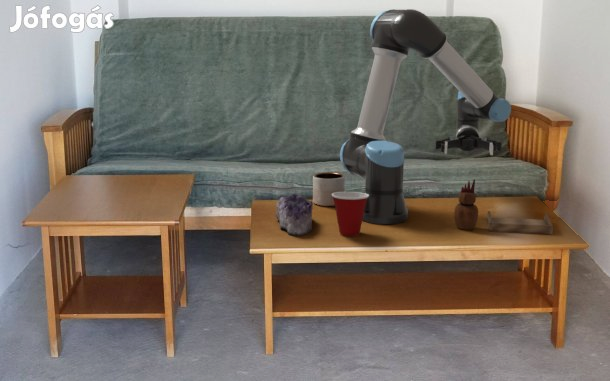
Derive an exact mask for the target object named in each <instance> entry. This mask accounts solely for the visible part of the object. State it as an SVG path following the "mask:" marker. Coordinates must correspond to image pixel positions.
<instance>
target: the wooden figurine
mask: <svg viewBox="0 0 610 381" xmlns="http://www.w3.org/2000/svg"><path fill="white" fill-rule="evenodd" d="M475 186H476V179H473V181H472V185H471V183H470V180H468V182H467V184H466V183H465V184H464V186H461V188H460V193H459V194H458V202H459V203H457V204H456V206H455V207H454V212H453V213H454V214H453V218H454V223H455V225H456V227H457V228H458V229H460V230H464V231H465V230H466V231H469V230H473V229H475V227H476V225H477V222H478V218H479V208H478V206H477V205H476V200H477V196H476V194H475Z"/></svg>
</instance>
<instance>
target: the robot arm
mask: <svg viewBox="0 0 610 381" xmlns="http://www.w3.org/2000/svg"><path fill="white" fill-rule="evenodd" d="M369 29H370V30H369V31H370V34H369V35H370V37H371V40H372V46H371V50H372V51H373V53H374V58H373V61H372V66H371V71H370V74H369V78H368V83H367V86H366V90H365V94H364V97H363V101H362V107H361V110H360V113H359V118H358V123H357V127H356V128H355V129H353V130H351V133H350V136H349V139H347V140H346V142H344V143H342V146H341V148H340V151H339V159H340V160H339V161H340V163H341V166H342V167H343V168H344V170H346V171H347V172H349V173H350V174H351V175H353V176H357V177H360V178H362V179H364V180H365V182H364V183H365V184H364V186H365V188H364V189H365V191H364V192H365V193H366V194H369V197H368V198H367V201H366V205H365V209H364V214H363V220H362V222H363V221H364V222H367V223H369V224H370V223H371V224H376V225H377V224H378V225H393V224H395V225H396V224H400V223H404V222H405V221H407V220H408V219H409V211H408V210H409V209H408V207H407V204H406V199H405V197H404V169H405V168H404V166H405V165H404V164H405V153H404V149H403V147H402V145H400V144H398V143H396V142H394V141H388V140H387V139H386V137H385V136H384V131H385V127H386V122H387V119H388V116H389V110H390V107H391V102H392V98H393V96H394V95H393V94H394V90H395V86H396V83H397V78H398V75H399V71H400V67H401V63H402V61H403V60H405V59H406V58H407V57H408V54H409V52H410V50H412V51H414V52H416V53H417V54H418V55H420V56H421V57H422V59H425V60H427V59H428V61H430V62H431V63H432V64H433V65H434V66H435V67H436V69H437V70H439V72H440V73H441V74H442V75H443V76H444V77H445V78H446V79H447V80H448V81H449V82H450V83H451V84H452V85H453V87H455V88H456V90H458V93H457V100H456V101H457V106H456V107H457V109H456V110H457V111H456V112H457V115H456V116H457V117H456V128H455V137H454V138H452V137H451V136H446V137H444V138H441V139H438V140H435V150H440V152H442V153H444V155H447V154H448V149H454V148H455V149H460V150H461V151H464V152H472V151H474V150H476V149H477V150H478V149H479V150H480V149H484V150H488V151H489V155H490V156H494V152H497V151H498V152H500V151H502V150H503V148H502V147H503V143H502V142H501V141H498V140H495V139H491V138H490V137H486V138H484V139H482V137H480V135H479V133H480V131H479V130H480V129H479V128H480V119H481V120H485V121H486V120H487V121H491V122H494V123H495V122H499V123H502V122H505V121H506V120H508V118H509V117H510V115H511V112H512V107H511V103H510V102H509V101H508V100H507V99H506V98H503V97H498V96H497V95H496V94H495V92H494V91H493V90H492V88H490V87H489V86H488V85H487V84H486V83H485V81H484V80H483V79H482V78H481V77H480V76H479V75H478V74H477V73H476V71H475V70H474V69H473V68H472V67H471V66H470V65H469V64H468V63H467V62H466V60H465V59H463V57H462V56H461V55H460V54H459V52H457V51H456V49H454V47H453V46H452V45H451V44H450V43H449V42H448V36H447V34H445V32H444V31H443V30H442V29H441V28H440V26H438V25H437V23H435V22H434V21H433V20H432V19H431V18H430V17H429V16H427V15H426V14H425V13H422V12H421V11H419V10H417V9H411V8H409V9H389V10H385V11H382V12H380V13H378V14H377V15H376V16H375V17H374V18H373V20H372V22H371V25H370V28H369Z"/></svg>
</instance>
